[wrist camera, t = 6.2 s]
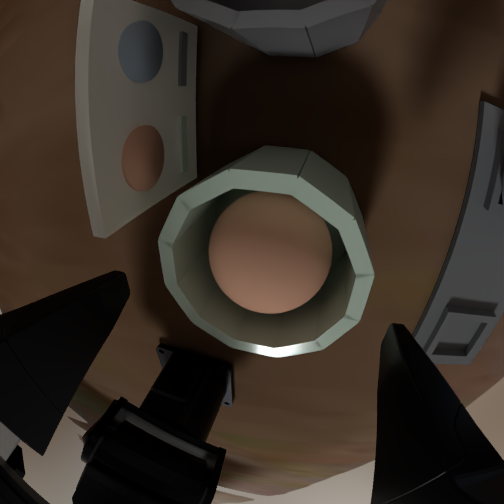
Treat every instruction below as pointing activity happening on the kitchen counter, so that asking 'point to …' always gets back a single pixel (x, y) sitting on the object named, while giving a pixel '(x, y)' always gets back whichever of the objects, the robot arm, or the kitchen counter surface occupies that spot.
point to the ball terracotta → (270, 252)
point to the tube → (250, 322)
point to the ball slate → (503, 189)
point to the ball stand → (471, 258)
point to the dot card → (133, 108)
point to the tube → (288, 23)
